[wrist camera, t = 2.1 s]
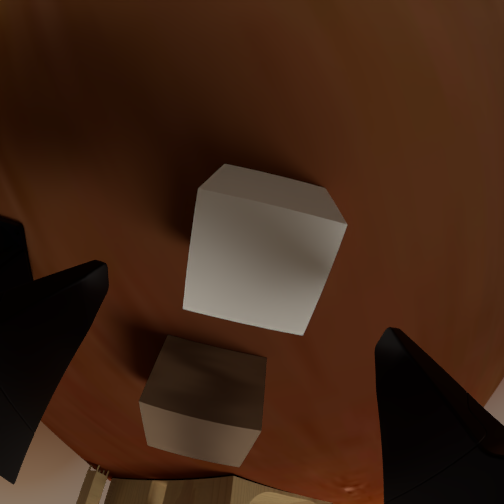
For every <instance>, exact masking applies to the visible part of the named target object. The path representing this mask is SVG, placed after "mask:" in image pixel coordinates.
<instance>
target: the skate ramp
mask: <svg viewBox="0 0 504 504" xmlns="http://www.w3.org/2000/svg"><path fill="white" fill-rule="evenodd" d="M91 466H92V465H90V467H89V470H88V471H87V474H86V477H85V480H84V482H83V485H82V488H81V491H80V494H79V497H78V500H77V503H76V504H99V501H100V498H101V495H102V492H103V488H104V485H105V483H106V480H107V477H108V474H109V471H108V472H107V474H106V476H105V475H104V472H105V471H104V470H103V473H102V474H101V473H100V471H101V470H99V472H98V469H99V467H100V465H98V467H97V470H96V471H91V470H90V469H91ZM104 504H332V503H331V502H326V501H321V500H317V499H313V498H309V497H305V496H301V495H297V494H293V493H289V492H285V491H281V490H277V489H274V488H270V487H267V486H263V485H260V484H257V483H254V482H250V481H247V480H244V479H241V478H239V477H236V476H227V477H219V478H208V479H194V480H168V481H154V480H130V479H117V478H112V480H111V483H110V486H109V489H108V492H107V495H106V499H105V502H104Z"/></svg>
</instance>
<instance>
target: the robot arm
mask: <svg viewBox="0 0 504 504" xmlns="http://www.w3.org/2000/svg"><path fill="white" fill-rule="evenodd" d="M108 288H109V281H108V267H107V264H106V263H105V262H101V261H98V260H93V261H90V262H87V263H84V264H81V265H78V266H75V267H72V268H69V269H66V270H63V271H60V272H57V273H54V274H51V275H48V276H46V277H43V278H40V279H37V280H34V281H33V279H32V274H31V269H30V264H29V259H28V254H27V248H26V241H25V235H24V229H23V227H22V225H21V224H19V223H16V222H12V221H9V220H6V219H3V218H0V476H2V477H3V478H5V479H6V480H7V481H9V482H11V483H12V484H14V483H15V481H16V479H17V476H18V473H19V470H20V467H21V465H22V463H23V460H24V457H25V455H26V452H27V450H28V448H29V445H30V443H31V441H32V438H33V436H34V432H35V431H36V429H37V427H38V424H39V422H40V420H41V418H42V416H43V414H44V412H45V410H46V408H47V406H48V404H49V401H50V399H51V397H52V395H53V394H54V392H55V390H56V388H57V386H58V384H59V382H60V380H61V378H62V376H63V374H64V373H65V371H66V369H67V367H68V365H69V363H70V362H71V360H72V358H73V356H74V355H75V353H76V351H77V349H78V348H79V346H80V344H81V342H82V341H83V339H84V337H85V336H86V334H87V332H88V331H89V329H90V327H91V325H92V323H93V321H94V318H95V316H96V314H97V312H98V310H99V308H100V306H101V304H102V302H103V300H104V298H105V296H106V294H107V291H108ZM375 370H376V393H377V402H378V411H379V420H380V431H381V443H382V457H383V479H384V504H504V426H503V425H502V424H501V423H500V422H499V421H498V420H497V419H495V418H494V417H493V416H492V415H491V414H490V413H489V412H488V411H486V410H485V409H484V408H483V407H482V406H481V405H480V404H479V403H478V402H477V401H476V400H475V399H474V398H473V397H472V396H471V395H470V394H469V393H466V390H464V389H463V388H462V387H461V386H460V385H459V384H458V383H457V382H456V381H455V380H454V379H453V378H452V377H451V376H450V375H449V374H448V373H447V372H446V371H445V370H444V369H443V368H442V367H440V366H439V365H438V364H437V363H436V362H435V361H434V360H433V359H432V358H431V357H430V356H429V355H428V354H427V353H425V352H424V351H423V350H422V349H421V348H420V347H419V346H418V345H417V344H416V343H415V342H413V341H412V340H411V339H410V338H409V337H408V336H407V335H406V334H405V333H404V332H402V331H401V330H400V329H398V328H392V327H389V328H387V329H386V330H385V332H384V333H383V335H382V337H381V338H380V340H379V341H378V343H377V345H376V347H375Z"/></svg>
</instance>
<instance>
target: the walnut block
mask: <svg viewBox="0 0 504 504" xmlns="http://www.w3.org/2000/svg"><path fill="white" fill-rule="evenodd" d="M266 362H267V358H265V357H260V356H255V355H250V354H245V353H240V352H236V351H231V350H227V349H222V348H218V347H214V346H209V345H205V344H201V343H197V342H193V341H190V340H186V339H182V338H178V337H175V336H171V335H167V338H166V340H165V342H164V344H163V346H162V349H161V351H160V353H159V356H158V358H157V360H156V362H155V365H154V367H153V369H152V372H151V374H150V376H149V378H148V381H147V383H146V386H145V388H144V390H143V393H142V395H141V397H140V400H139V405H140V411H141V416H142V421H143V426H144V431H145V435H146V440H147V444H148V445H149V446H152V447H155V448H158V449H161V450H165V451H168V452H172V453H175V454H179V455H183V456H187V457H191V458H195V459H200V460H204V461H209V462H214V463H219V464H224V465H230V466H236V467H240V465H241V464H242V462H243V460H244V459H245V457H246V456H247V454H248V452H249V451H250V449H251V447H252V446H253V444H254V442H255V441H256V439H257V437H258V436H259V434H260V432H261V428H262V416H263V403H264V390H265V376H266Z"/></svg>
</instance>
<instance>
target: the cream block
mask: <svg viewBox="0 0 504 504" xmlns="http://www.w3.org/2000/svg"><path fill="white" fill-rule="evenodd" d="M346 227H347V223H346V221H345V220H344V218H343V216H342V215H341V213H340V211H339V210H338V208H337V206H336V205H335V203H334V201H333V200H332V198H331V196H330V195H329V193H328V191H327V190H326V188H323V187H320V186H316V185H313V184H309V183H305V182H301V181H298V180H294V179H290V178H286V177H282V176H278V175H274V174H269V173H265V172H261V171H257V170H252V169H248V168H243V167H239V166H234V165H229V164H224V165H223V166H222V167H220V168H219V169H218V170H217V171H216V172H215V173H214V174H213V175H212V176H211V177H210V178H209V179H208V180H207V181H205V182H204V183H203V184H202V185H201V186H200V187H199V188H198V192H197V198H196V205H195V212H194V219H193V226H192V233H191V241H190V248H189V256H188V265H187V274H186V283H185V292H184V302H183V309H186V310H190V311H193V312H197V313H201V314H205V315H209V316H213V317H218V318H222V319H226V320H230V321H235V322H239V323H244V324H248V325H253V326H257V327H262V328H267V329H272V330H277V331H282V332H287V333H292V334H297V335H303V334H304V332H305V329H306V327H307V325H308V323H309V320H310V318H311V316H312V313H313V311H314V309H315V306H316V304H317V302H318V299H319V297H320V295H321V292H322V290H323V287H324V285H325V282H326V280H327V277H328V275H329V272H330V270H331V267H332V265H333V262H334V259H335V257H336V254H337V252H338V249H339V246H340V244H341V241H342V238H343V235H344V233H345V230H346Z"/></svg>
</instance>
